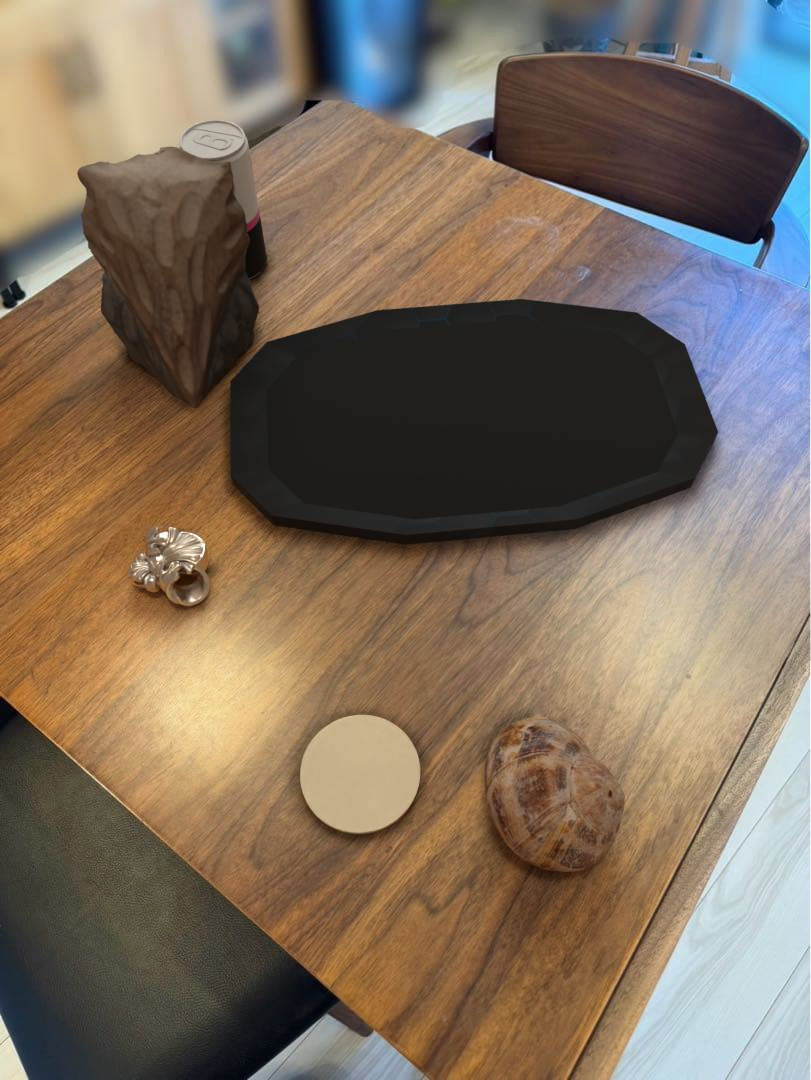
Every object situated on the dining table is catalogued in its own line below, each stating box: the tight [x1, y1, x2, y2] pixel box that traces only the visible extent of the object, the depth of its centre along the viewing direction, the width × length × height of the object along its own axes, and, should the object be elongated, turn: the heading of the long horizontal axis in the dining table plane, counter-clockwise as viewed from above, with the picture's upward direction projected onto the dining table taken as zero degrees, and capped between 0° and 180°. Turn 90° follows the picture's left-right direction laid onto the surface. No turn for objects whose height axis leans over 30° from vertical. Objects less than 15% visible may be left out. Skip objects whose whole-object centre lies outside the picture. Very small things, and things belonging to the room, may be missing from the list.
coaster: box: [299, 714, 421, 835], centre depth 67 cm, size 9×9×1 cm
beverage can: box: [178, 119, 268, 280], centre depth 91 cm, size 7×6×15 cm
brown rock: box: [76, 146, 260, 409], centre depth 83 cm, size 13×13×20 cm
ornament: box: [127, 525, 211, 607], centre depth 75 cm, size 8×7×4 cm
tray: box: [229, 298, 719, 545], centre depth 85 cm, size 45×28×2 cm, turn 96°
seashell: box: [484, 716, 626, 873], centre depth 63 cm, size 10×9×10 cm
